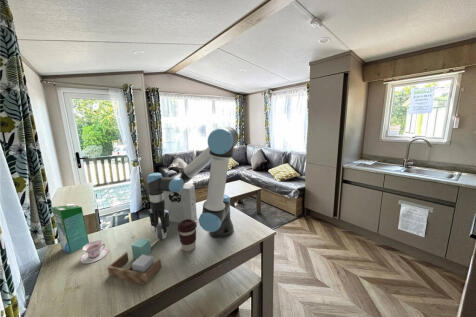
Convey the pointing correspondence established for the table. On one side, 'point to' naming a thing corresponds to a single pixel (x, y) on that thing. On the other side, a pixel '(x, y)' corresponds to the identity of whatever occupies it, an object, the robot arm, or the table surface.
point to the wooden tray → (132, 275)
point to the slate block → (142, 263)
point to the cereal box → (181, 204)
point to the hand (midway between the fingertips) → (161, 237)
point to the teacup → (94, 252)
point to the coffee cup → (187, 234)
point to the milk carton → (70, 227)
